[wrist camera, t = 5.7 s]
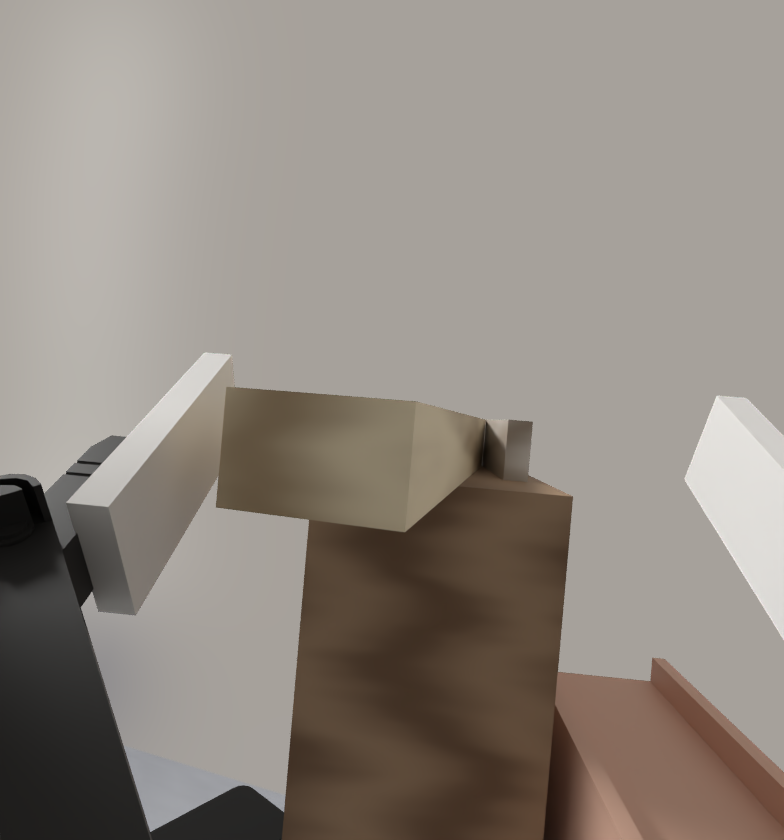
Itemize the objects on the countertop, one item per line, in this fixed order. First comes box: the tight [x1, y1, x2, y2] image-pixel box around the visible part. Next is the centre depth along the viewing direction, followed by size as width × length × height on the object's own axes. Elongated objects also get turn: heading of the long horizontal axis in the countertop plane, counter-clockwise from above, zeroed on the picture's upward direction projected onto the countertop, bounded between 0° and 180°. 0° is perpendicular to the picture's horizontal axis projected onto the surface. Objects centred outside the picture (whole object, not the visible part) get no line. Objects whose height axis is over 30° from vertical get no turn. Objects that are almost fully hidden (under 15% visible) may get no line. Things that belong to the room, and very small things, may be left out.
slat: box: [216, 387, 486, 532], centre depth 21 cm, size 4×20×2 cm, turn 167°
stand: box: [282, 420, 573, 840], centre depth 27 cm, size 9×14×32 cm, turn 178°
